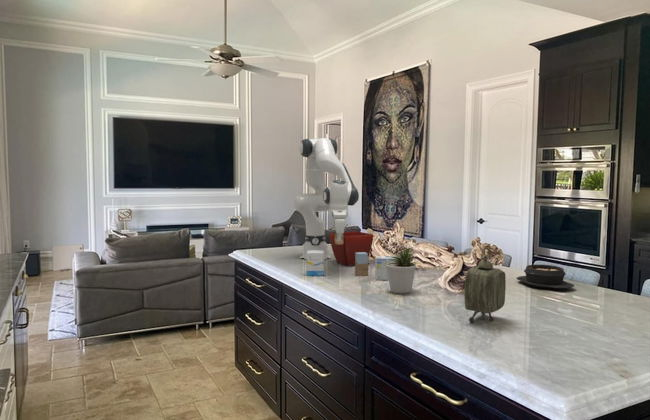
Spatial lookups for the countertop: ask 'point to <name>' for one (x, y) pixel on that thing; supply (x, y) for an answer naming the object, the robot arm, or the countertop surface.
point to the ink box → (315, 263)
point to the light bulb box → (382, 267)
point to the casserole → (545, 277)
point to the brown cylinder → (337, 240)
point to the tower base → (361, 269)
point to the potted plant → (401, 272)
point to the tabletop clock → (484, 288)
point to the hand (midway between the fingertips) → (339, 240)
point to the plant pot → (351, 246)
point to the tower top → (361, 257)
